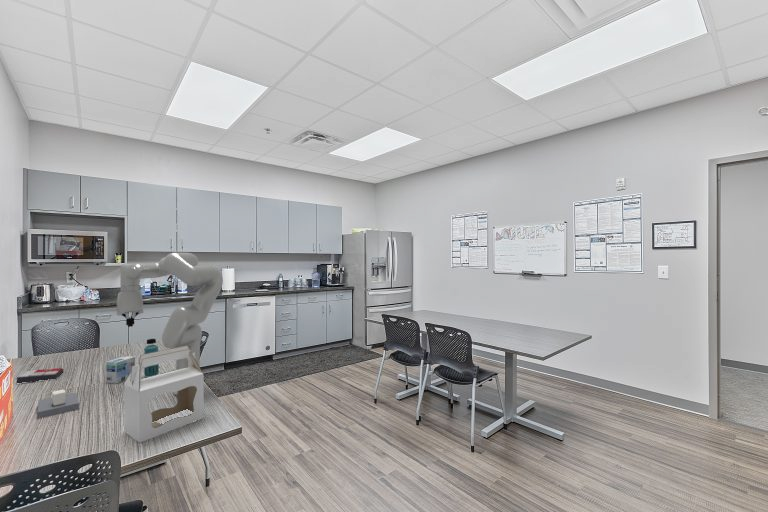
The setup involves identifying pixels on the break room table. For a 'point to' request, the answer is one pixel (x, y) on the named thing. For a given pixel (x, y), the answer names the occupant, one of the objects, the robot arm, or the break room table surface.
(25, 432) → the break room table surface
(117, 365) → the light bulb box
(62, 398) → the plug
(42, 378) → the sushi tray
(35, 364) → the break room table surface
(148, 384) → the gable box
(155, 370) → the beverage bottle
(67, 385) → the break room table surface
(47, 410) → the socket plate
